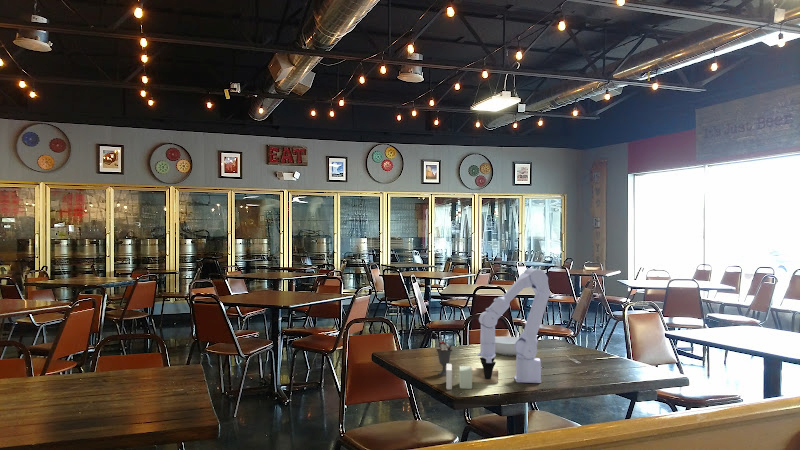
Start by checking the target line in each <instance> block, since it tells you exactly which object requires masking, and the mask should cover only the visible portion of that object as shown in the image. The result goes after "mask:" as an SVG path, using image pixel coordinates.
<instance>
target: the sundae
mask: <svg viewBox="0 0 800 450" xmlns="http://www.w3.org/2000/svg"><path fill="white" fill-rule="evenodd" d="M438 339H441V336H439V337H438ZM436 351H437V354H438V362H439V364H440V365H441V366H442V370H441V372H438V373H437V375H439V376H446V367H447V364H450V359H451V353H452V352H453V349H452V344H451V345H449V343H447V342H445V341H444V340H443V339H441V341H440V342H439V345H438V346H437V348H436Z"/></svg>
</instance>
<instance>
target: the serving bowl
mask: <svg viewBox="0 0 800 450" xmlns="http://www.w3.org/2000/svg"><path fill="white" fill-rule="evenodd" d="M519 337H520V336H518V337H517V336H495V354H500V355H502V356H507V355H508V356H511V357H512V356H513V355H514V356H516V355H517V352H516V351H515V348H514V346H515V343H516V341H517V340H518V339H519Z"/></svg>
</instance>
